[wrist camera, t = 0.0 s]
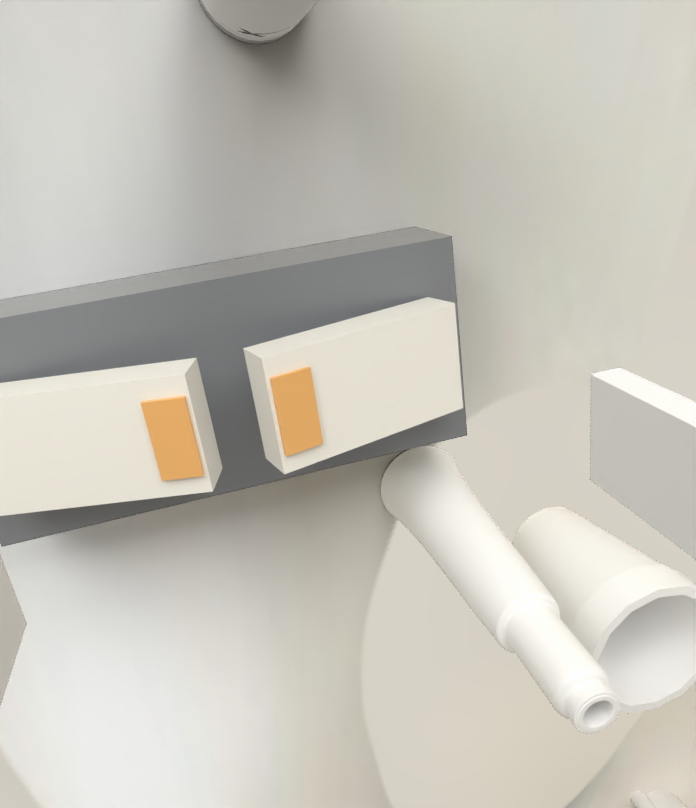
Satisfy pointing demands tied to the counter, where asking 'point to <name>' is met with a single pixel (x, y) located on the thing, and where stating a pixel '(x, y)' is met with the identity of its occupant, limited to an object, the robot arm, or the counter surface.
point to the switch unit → (223, 343)
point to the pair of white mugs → (656, 800)
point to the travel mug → (256, 17)
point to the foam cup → (616, 605)
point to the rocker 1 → (105, 437)
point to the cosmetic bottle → (497, 583)
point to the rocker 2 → (354, 381)
